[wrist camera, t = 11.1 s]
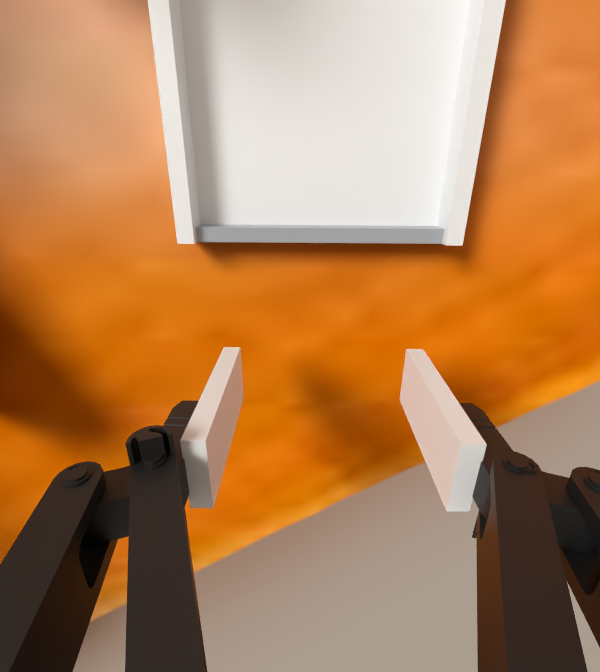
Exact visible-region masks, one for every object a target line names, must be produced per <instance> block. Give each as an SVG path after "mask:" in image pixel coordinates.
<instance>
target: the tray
mask: <svg viewBox="0 0 600 672" xmlns="http://www.w3.org/2000/svg"><path fill="white" fill-rule="evenodd" d="M505 2H506V0H148V7H149V15H150V23H151V31H152V40H153V48H154V56H155V64H156V72H157V80H158V89H159V97H160V105H161V113H162V121H163V129H164V138H165V146H166V154H167V162H168V170H169V178H170V186H171V195H172V203H173V211H174V219H175V227H176V235H177V244H195V243H196V242H270V243H414V244H444V245H446V246H463V240H464V235H465V229H466V223H467V218H468V212H469V206H470V201H471V195H472V189H473V184H474V178H475V172H476V167H477V161H478V155H479V150H480V144H481V138H482V133H483V127H484V121H485V116H486V110H487V104H488V99H489V93H490V87H491V82H492V76H493V70H494V65H495V59H496V53H497V48H498V42H499V36H500V31H501V25H502V19H503V14H504V8H505Z"/></svg>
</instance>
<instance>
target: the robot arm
mask: <svg viewBox="0 0 600 672" xmlns="http://www.w3.org/2000/svg"><path fill="white" fill-rule="evenodd" d="M243 398H244V396H243V380H242V364H241V348H240V347H224V348H223V350H222V352H221V355H220V357H219V359H218V361H217V363H216V365H215V367H214V369H213V372H212V374H211V376H210V378H209V380H208V382H207V384H206V387H205V389H204V391H203V393H202V395H201V397H200V399H199V401H181V402H180V403H179V404H178V405H176V406H175V407H174V408H173V409H172V411H171V412H170V414H169V416H168V418H167V420H166V421H165V423H164V426H158V425H156V426H148V427H145V428H142V429H140V430H138V431H136V432H134V433H133V434H132V435H131V436H130V437H129V438H128V439H127V442H126V448H127V452H128V457H129V461H130V466H127V467H124V468H120V469H116V470H111V471H106V472H103V469H102V467H101V465H100V464H98V463H96V462H81V463H77V464H74V465H72V466H69V467H67V468H66V469H64V470H63V471H61V472H60V473H59V474H58V475H57V476H56V477H55V478H54V479H53V481H52V482H51V484H50V486H49V487H48V489H47V490H46V492H45V494H44V495H43V497H42V498H41V500H40V502H39V503H38V505H37V506H36V508H35V510H34V511H33V513H32V515H31V516H30V518H29V519H28V521H27V523H26V524H25V526H24V527H23V529H22V531H21V532H20V534H19V535H18V537H17V539H16V540H15V542H14V543H13V545H12V547H11V548H10V550H9V551H8V553H7V555H6V556H5V558H4V560H3V561H2V563H1V564H0V672H72V671H73V668H74V666H75V663H76V660H77V657H78V654H79V651H80V648H81V645H82V642H83V639H84V636H85V634H86V631H87V628H88V625H89V622H90V619H91V616H92V613H93V610H94V607H95V604H96V602H97V599H98V596H99V593H100V590H101V587H102V584H103V581H104V578H105V575H106V572H107V570H108V567H109V564H110V561H111V558H112V555H113V552H114V549H115V546H116V543H117V540H118V539H120V538H123V537H127V536H129V547H128V585H127V624H126V662H125V663H126V665H125V672H207V666H206V659H205V652H204V645H203V637H202V630H201V623H200V616H199V609H198V601H197V594H196V587H195V580H194V572H193V565H192V558H191V551H190V543H189V536H188V529H187V522H186V515H185V508H184V507H185V504H186V501H187V499H188V496H189V502H190V508H214V504H215V501H216V497H217V493H218V490H219V486H220V482H221V479H222V475H223V471H224V468H225V464H226V460H227V457H228V453H229V449H230V446H231V442H232V439H233V435H234V431H235V428H236V424H237V420H238V417H239V413H240V409H241V406H242V402H243ZM400 402H401V404H402V407H403V409H404V411H405V414H406V416H407V419H408V421H409V423H410V426H411V428H412V431H413V433H414V435H415V438H416V440H417V443H418V445H419V447H420V450H421V452H422V455H423V457H424V459H425V462H426V464H427V466H428V469H429V471H430V474H431V476H432V478H433V481H434V483H435V486H436V488H437V490H438V493H439V495H440V498H441V500H442V502H443V505H444V507H445V509H446V511H449V512H470V509H471V505H472V501H473V499H474V501H475V502H476V504H477V506H478V508H479V513H478V517H477V520H476V524H475V528H474V531H473V535H472V537H473V538H476V536H477V624H478V625H477V628H478V672H587V667H586V663H585V659H584V655H583V650H582V646H581V641H580V637H579V633H578V628H577V624H576V620H575V615H574V611H573V607H572V602H571V598H570V594H569V589H568V585H567V582H568V584H569V586H570V588H571V589H572V592H573V594H574V596H575V598H576V600H577V602H578V604H579V606H580V608H581V610H582V612H583V614H584V616H585V618H586V620H587V622H588V624H589V626H590V628H591V630H592V632H593V635H594V636H595V639H596V640H597V642H598V645H599V647H600V470H597V469H593V468H588V467H578V468H575V469H573V470H572V473H571V476H570V478H567V477H563V476H558V475H554V474H549V473H546V472H542V471H541V470H540V468H539V466H538V465H537V464H536V463H535V462H534V461H533V460H532V459H530V458H528V457H527V456H525V455H523V454H520V453H517V452H514V451H513V450H512V449H511V448H510V446H509V445H508V444H507V442H506V441H505V440H504V438H503V437H502V436H501V434H500V433H499V432H498V430H497V429H495V426H494V425H493V424H492V422H490V420H489V418H488V417H487V416H486V414H485V413H484V412H483V411H482V410H481V409H480V408H478V407H477V406H475V405H474V404H472V403H459V402H458V401H457V399H456V398H455V396H454V395H453V393H452V392H451V390H450V389H449V387H448V386H447V384H446V383H445V381H444V380H443V378H442V377H441V375H440V374H439V373H438V371H437V370H436V368H435V367H434V365H433V364H432V362H431V361H430V359H429V358H428V356H427V355H426V353H425V352H424V350H423V349H406V355H405V363H404V370H403V378H402V385H401V393H400Z"/></svg>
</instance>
